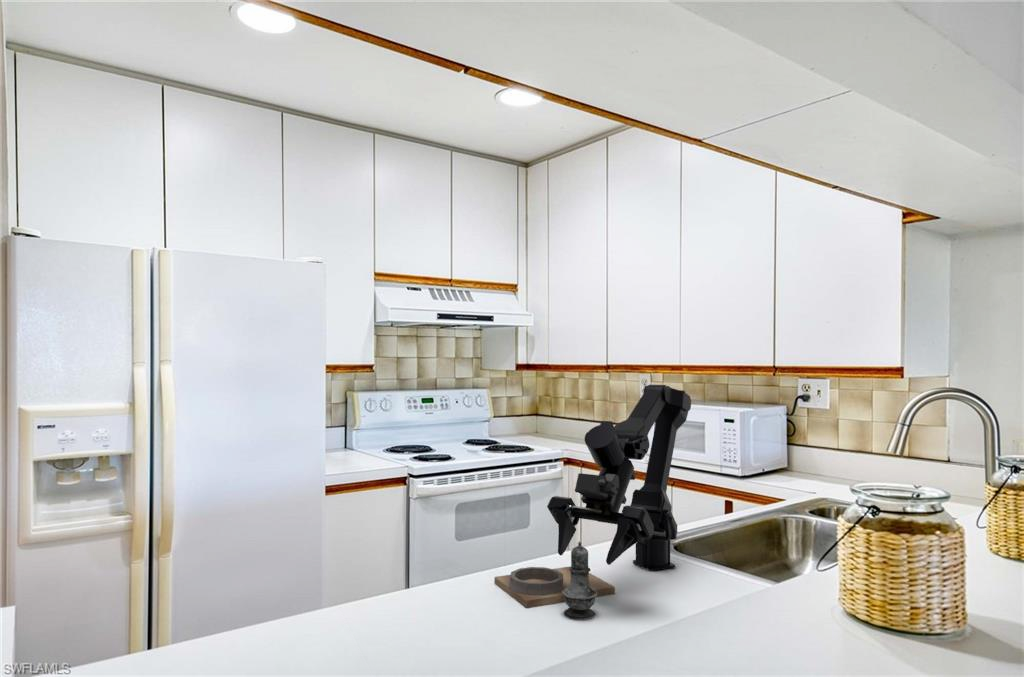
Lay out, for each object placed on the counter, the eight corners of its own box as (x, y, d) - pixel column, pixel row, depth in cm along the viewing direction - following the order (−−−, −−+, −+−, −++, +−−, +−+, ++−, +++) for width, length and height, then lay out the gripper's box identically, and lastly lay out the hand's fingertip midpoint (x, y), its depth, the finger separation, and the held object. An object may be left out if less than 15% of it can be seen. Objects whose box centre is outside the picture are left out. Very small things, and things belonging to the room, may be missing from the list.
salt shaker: (555, 610, 108) (555, 538, 109) (585, 605, 110) (585, 535, 111) (573, 623, 103) (573, 547, 103) (604, 617, 105) (604, 543, 106)
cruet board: (576, 571, 129) (576, 555, 129) (614, 593, 116) (614, 575, 117) (494, 583, 122) (494, 566, 122) (526, 607, 109) (526, 588, 109)
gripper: (552, 452, 119) (519, 522, 109) (647, 460, 108) (619, 539, 98) (573, 488, 125) (542, 559, 115) (664, 500, 114) (639, 578, 104)
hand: (583, 558), depth 108 cm, fingers open, 9 cm apart
